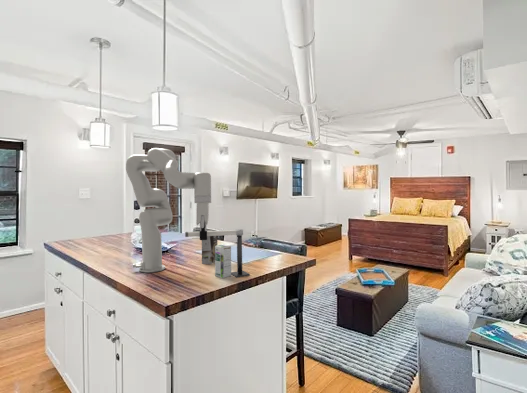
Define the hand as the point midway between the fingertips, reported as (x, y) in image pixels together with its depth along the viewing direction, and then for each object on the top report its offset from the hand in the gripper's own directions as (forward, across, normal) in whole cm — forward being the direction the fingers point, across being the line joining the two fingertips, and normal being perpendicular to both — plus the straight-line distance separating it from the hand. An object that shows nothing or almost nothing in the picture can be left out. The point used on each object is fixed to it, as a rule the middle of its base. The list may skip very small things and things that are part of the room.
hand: (203, 239), depth 145 cm
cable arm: (-1, -4, +5) cm, 6 cm away
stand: (+18, -4, +17) cm, 25 cm away
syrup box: (+18, -4, +9) cm, 21 cm away
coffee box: (+19, -33, +2) cm, 38 cm away
